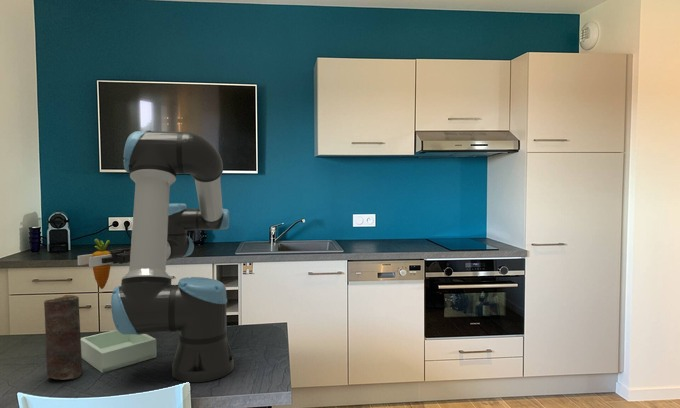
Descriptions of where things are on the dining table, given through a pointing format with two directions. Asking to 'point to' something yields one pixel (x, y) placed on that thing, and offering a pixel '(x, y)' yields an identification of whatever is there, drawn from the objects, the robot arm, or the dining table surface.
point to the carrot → (103, 270)
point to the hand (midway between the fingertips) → (84, 261)
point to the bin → (117, 349)
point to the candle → (63, 337)
